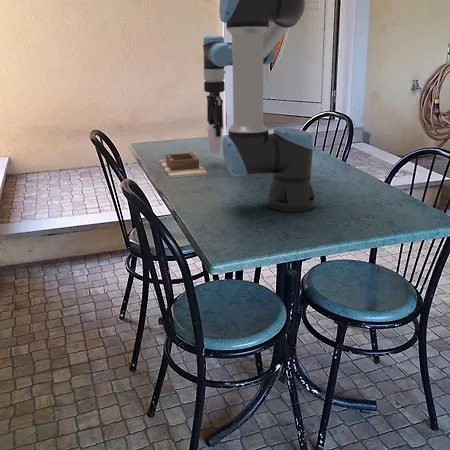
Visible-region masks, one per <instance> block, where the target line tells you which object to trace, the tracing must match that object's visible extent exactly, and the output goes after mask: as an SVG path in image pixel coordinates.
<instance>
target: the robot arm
mask: <svg viewBox="0 0 450 450" xmlns="http://www.w3.org/2000/svg"><path fill="white" fill-rule="evenodd" d="M305 2H306V1H305V0H219V10H218V11H219V19H220V22H222V23H224V24H225V23H226V25H225V26H226V31H227V32H228V33H229V34H230V35H231V40H232V42H225V38H224V36H222V35H206V36H204V37H203V45H202V49H203V51H202V52H203V80H205V81H204V82H203V86H204V88H203V90H204V92H205V93H209V94H208V95H206V102H207V103H206V106H207V107H206V110H207V111H206V114H207V115H206V116H207V118H206V121H207V123H208V126H209V125H214V126H213V128H214V145H221V147H222V152H223V158H224V163H225V165H226V168H227V170H228V172H229V174H230V175H232V176H235V177H236V176H239V177H240V176H244V177H247V176H255V175H268V174H269V175H270V174H272V179H271V183H270V186H269V188H268V191H267V193H266V198H265V199H266V200H265V204H266V206H268V208H270V209H273V210H276V211H279V212H285V213H286V212H289V213H297V212H298V213H301V212H306V211H309V210H311V209H313V208H315V206H316V196H315V191H314V188H313V184H312V166H313V151H314V139H313V135H312V134H311V133H310V132H308V131H306V130H302V129H298V128H294V127H293V128H292V127H286V126H285V127H275V128H274V129H273V133H269V127H268V126H267V125H265V124H264V65H270V64H271V63H272V62H273V61H274V60H273V59H274V55H275V50H274V49H275V46H277V44H278V43H279V41H280V40H281V39H282V38H283V36H284V35H285V33H286V32H287V31H288V29H290V28H291V27H292V28H293V27H294V26H295V25H297V23H298V22H299V21H300V19H302V16H303V14H304V11H305V6H306V3H305ZM228 66H232V110H233V111H232V112H233V113H232V114H233V119H232V120H233V122H232V123H233V124H232V125H231V126H230V127H228V134H227V135H226V136H224V137H222V140H221V128H222V127H223V128H224V113H223V110H224V109H223V103H224V100H223V98H222V97H221V94H220V93H224V92H225V90H226V89H225V81H224V80H225V74H226V70H225V67H228Z"/></svg>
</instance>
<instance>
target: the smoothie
mask: <svg viewBox="0 0 450 450" xmlns="http://www.w3.org/2000/svg"><path fill="white" fill-rule="evenodd" d="M213 126H214V125H209V124H208V125H207V126H206V130H207V136H208V143H209V151H210V153H212V154H213V153H214V154H215V153H220V152H221V147H222V144H221V145H214V128H213ZM223 130H224V126H223V127H222V128H221V141H223Z"/></svg>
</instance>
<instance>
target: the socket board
mask: <svg viewBox="0 0 450 450" xmlns="http://www.w3.org/2000/svg"><path fill="white" fill-rule="evenodd" d="M159 164H160V165H161V167H162V169H163V170H164V172H165V173H166V175H167V176H168V177H169V179H174V178H176V179H177V178H187V177H197V176H199V177H200V176H208V172H207V170H206V169H205V168H204V167H203V166H202V164H200V160H199V158H198V157H197V155H196V154H194V153H193V152H182V153H170V154H165V159H159Z"/></svg>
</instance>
